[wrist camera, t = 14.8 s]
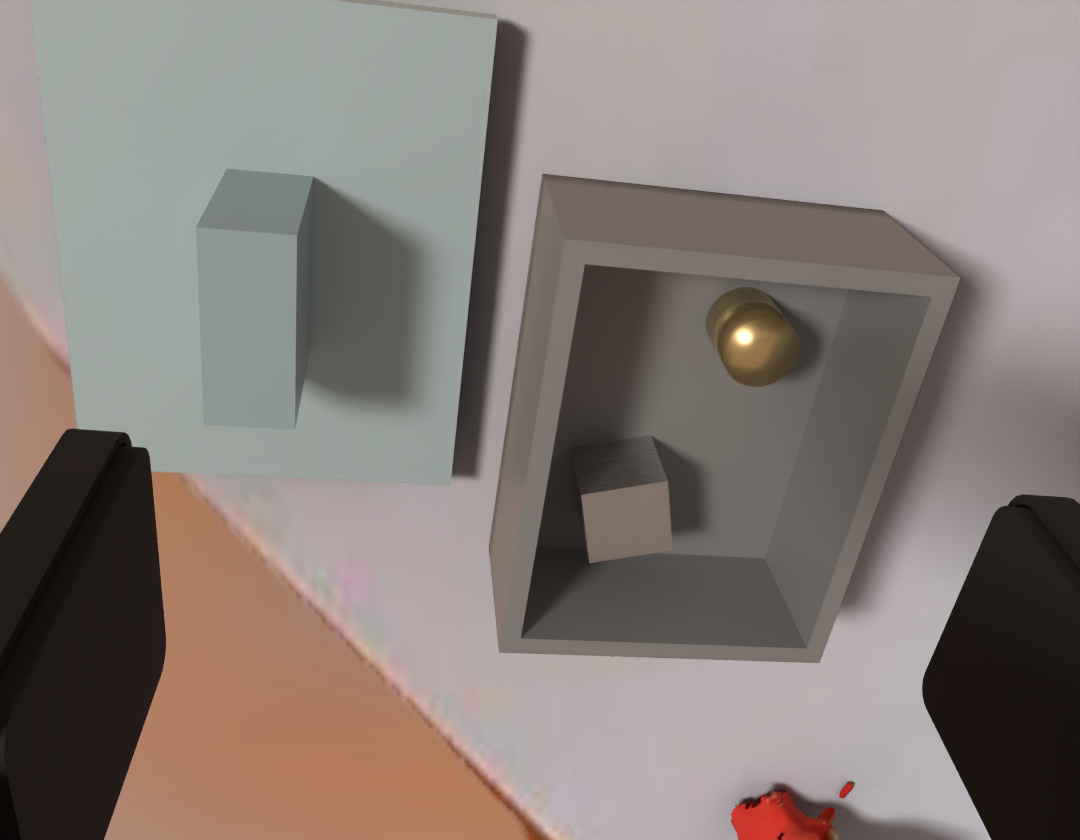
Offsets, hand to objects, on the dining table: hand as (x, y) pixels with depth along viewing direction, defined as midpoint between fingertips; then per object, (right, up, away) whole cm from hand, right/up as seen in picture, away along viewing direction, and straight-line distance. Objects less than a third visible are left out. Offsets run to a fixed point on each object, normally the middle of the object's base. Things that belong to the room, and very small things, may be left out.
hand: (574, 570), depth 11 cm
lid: (-11, +9, +29) cm, 32 cm away
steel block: (+3, -1, +35) cm, 35 cm away
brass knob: (+8, +6, +31) cm, 33 cm away
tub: (+5, +3, +34) cm, 34 cm away
